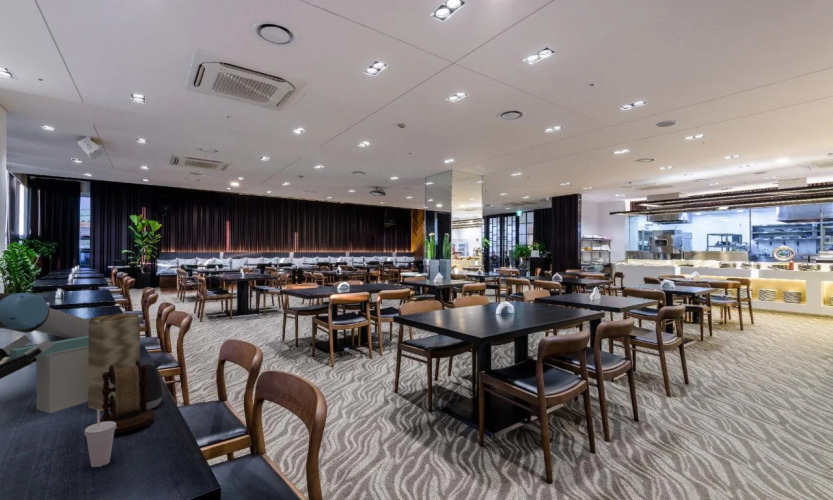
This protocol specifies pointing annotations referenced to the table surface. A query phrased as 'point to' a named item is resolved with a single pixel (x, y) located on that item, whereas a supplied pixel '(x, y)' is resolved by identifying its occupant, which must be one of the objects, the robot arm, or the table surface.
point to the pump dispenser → (153, 386)
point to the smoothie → (100, 441)
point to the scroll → (126, 398)
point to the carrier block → (62, 379)
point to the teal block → (53, 347)
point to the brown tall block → (110, 351)
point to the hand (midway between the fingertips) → (39, 340)
